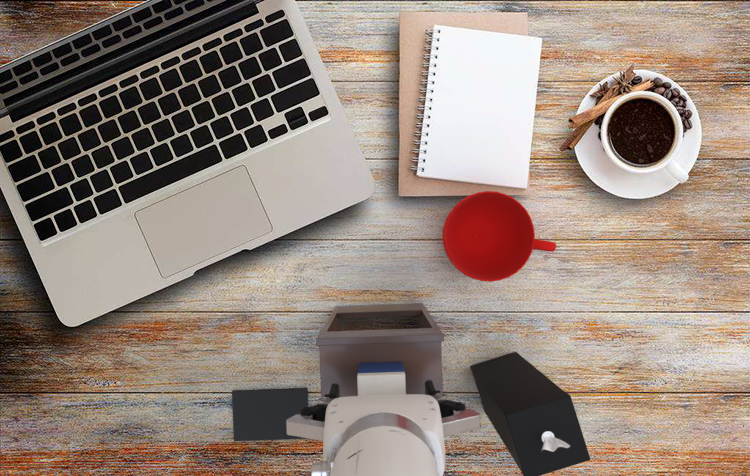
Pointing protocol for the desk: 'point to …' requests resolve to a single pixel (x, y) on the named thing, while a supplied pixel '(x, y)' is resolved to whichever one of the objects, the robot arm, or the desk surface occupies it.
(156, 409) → the desk surface
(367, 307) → the square planter pot
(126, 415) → the desk surface
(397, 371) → the box
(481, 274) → the ceramic cup
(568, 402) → the tissue box
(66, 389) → the desk surface
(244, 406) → the mat
